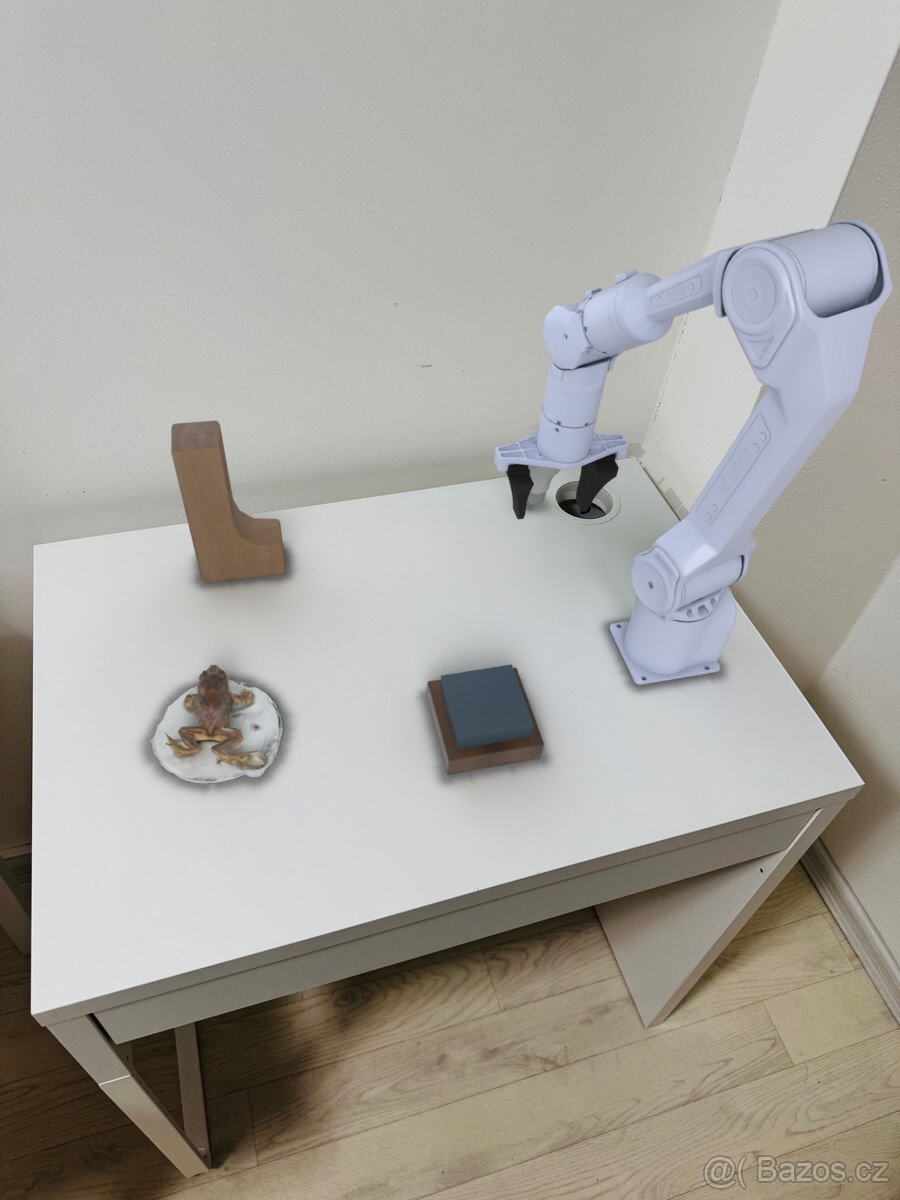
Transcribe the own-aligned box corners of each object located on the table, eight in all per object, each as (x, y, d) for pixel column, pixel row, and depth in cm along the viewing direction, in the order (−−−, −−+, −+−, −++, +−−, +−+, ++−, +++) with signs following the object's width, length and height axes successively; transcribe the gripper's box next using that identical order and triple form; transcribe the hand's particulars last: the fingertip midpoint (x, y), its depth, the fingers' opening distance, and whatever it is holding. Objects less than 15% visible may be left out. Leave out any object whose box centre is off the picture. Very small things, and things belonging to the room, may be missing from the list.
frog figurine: (152, 688, 81) (144, 664, 78) (278, 673, 83) (275, 649, 80) (148, 793, 73) (138, 771, 71) (286, 774, 76) (282, 752, 73)
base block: (513, 681, 84) (516, 666, 82) (540, 758, 78) (544, 744, 76) (426, 696, 82) (427, 681, 80) (447, 775, 76) (448, 761, 75)
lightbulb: (554, 523, 100) (570, 450, 92) (504, 514, 100) (515, 441, 92) (560, 491, 104) (575, 418, 96) (512, 482, 104) (523, 409, 96)
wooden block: (283, 546, 95) (266, 414, 81) (286, 575, 92) (270, 443, 78) (201, 555, 93) (170, 422, 80) (202, 584, 90) (170, 451, 77)
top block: (509, 676, 81) (512, 664, 80) (530, 737, 77) (533, 724, 75) (439, 687, 80) (440, 675, 78) (457, 750, 75) (458, 738, 74)
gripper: (620, 383, 90) (596, 480, 100) (491, 395, 87) (480, 493, 97) (646, 422, 86) (618, 520, 96) (510, 436, 83) (496, 535, 93)
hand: (549, 509), depth 96 cm, fingers open, 7 cm apart
